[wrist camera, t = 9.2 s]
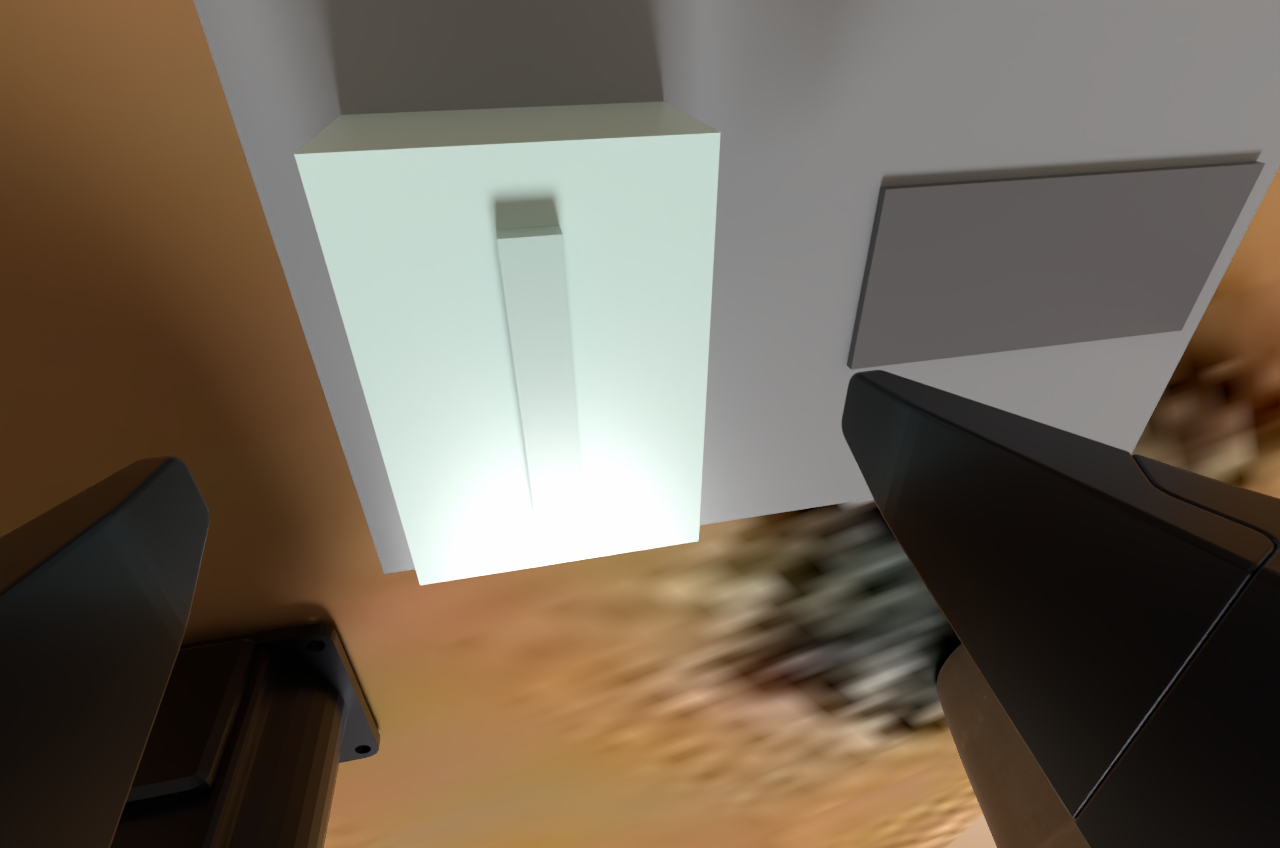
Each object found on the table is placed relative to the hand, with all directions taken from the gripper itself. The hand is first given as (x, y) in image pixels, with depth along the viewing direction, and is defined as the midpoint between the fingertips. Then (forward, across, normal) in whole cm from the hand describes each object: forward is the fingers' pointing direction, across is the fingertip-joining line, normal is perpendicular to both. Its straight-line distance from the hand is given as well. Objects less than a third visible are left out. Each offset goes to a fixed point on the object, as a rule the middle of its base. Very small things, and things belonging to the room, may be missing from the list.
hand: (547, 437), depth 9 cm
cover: (+4, 0, 0) cm, 4 cm away
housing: (+7, -6, 0) cm, 9 cm away
